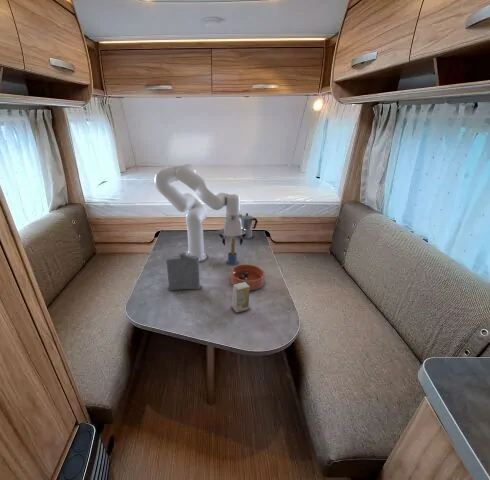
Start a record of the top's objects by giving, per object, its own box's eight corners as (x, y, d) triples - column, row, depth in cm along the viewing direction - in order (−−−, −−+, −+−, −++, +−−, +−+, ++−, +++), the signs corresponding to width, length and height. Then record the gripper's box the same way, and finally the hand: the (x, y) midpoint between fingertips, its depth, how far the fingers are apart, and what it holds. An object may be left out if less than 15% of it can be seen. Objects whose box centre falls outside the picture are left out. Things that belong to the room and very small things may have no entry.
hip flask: (168, 290, 136) (165, 255, 128) (169, 286, 139) (166, 251, 131) (199, 289, 136) (198, 254, 128) (199, 284, 140) (198, 250, 132)
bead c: (241, 275, 146) (242, 274, 143) (244, 271, 146) (245, 270, 144) (245, 278, 145) (246, 278, 142) (248, 274, 146) (249, 273, 143)
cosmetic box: (236, 313, 118) (237, 289, 113) (232, 307, 122) (232, 284, 117) (249, 309, 120) (250, 286, 116) (244, 303, 124) (245, 281, 119)
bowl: (232, 291, 133) (232, 281, 131) (229, 274, 149) (229, 264, 147) (266, 291, 133) (267, 280, 131) (260, 273, 149) (260, 264, 147)
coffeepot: (235, 236, 200) (235, 213, 193) (242, 232, 207) (242, 210, 200) (253, 241, 191) (254, 217, 184) (259, 237, 198) (261, 213, 191)
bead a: (237, 278, 143) (237, 276, 140) (241, 274, 144) (241, 272, 141) (241, 282, 142) (241, 280, 139) (245, 278, 143) (245, 277, 140)
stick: (230, 262, 160) (231, 238, 154) (230, 261, 162) (231, 237, 156) (234, 262, 160) (234, 238, 154) (233, 261, 162) (234, 237, 156)
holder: (228, 265, 159) (228, 256, 157) (227, 260, 164) (227, 252, 162) (237, 264, 159) (237, 255, 157) (236, 260, 164) (236, 251, 162)
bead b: (239, 280, 138) (242, 275, 139) (242, 283, 140) (244, 278, 141) (244, 282, 136) (247, 277, 137) (246, 285, 138) (249, 280, 139)
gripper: (247, 214, 153) (246, 241, 160) (217, 214, 153) (217, 242, 160) (249, 218, 146) (247, 246, 153) (217, 219, 146) (217, 247, 153)
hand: (232, 244), depth 157 cm, fingers open, 9 cm apart
